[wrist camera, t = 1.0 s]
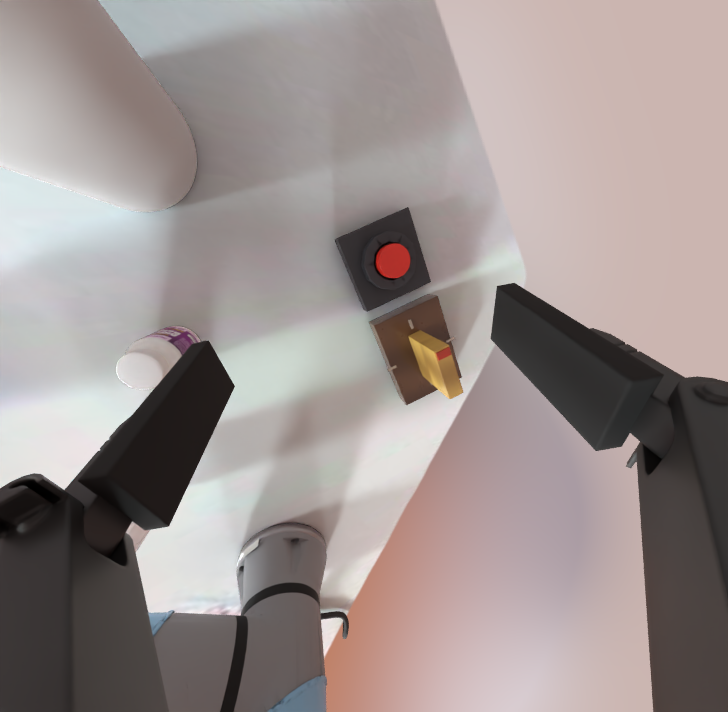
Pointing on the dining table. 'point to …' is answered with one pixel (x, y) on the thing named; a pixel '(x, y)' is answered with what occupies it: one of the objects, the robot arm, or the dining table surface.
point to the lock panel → (398, 348)
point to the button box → (362, 254)
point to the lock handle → (436, 363)
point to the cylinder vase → (88, 108)
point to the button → (392, 260)
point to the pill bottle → (154, 357)
